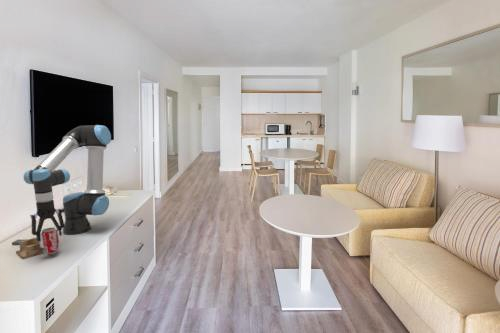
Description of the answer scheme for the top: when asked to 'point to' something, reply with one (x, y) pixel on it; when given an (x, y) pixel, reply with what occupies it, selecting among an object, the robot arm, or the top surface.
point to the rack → (29, 248)
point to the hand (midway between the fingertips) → (50, 244)
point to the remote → (17, 242)
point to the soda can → (50, 240)
